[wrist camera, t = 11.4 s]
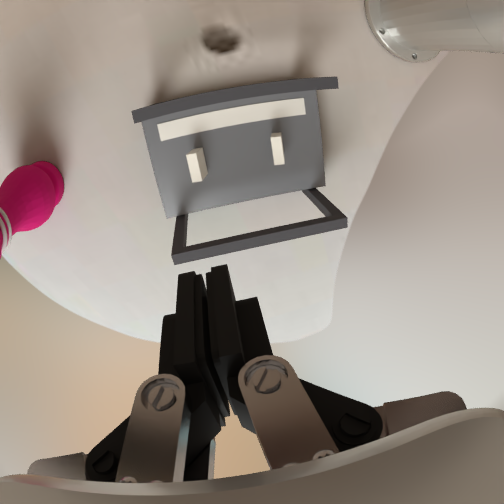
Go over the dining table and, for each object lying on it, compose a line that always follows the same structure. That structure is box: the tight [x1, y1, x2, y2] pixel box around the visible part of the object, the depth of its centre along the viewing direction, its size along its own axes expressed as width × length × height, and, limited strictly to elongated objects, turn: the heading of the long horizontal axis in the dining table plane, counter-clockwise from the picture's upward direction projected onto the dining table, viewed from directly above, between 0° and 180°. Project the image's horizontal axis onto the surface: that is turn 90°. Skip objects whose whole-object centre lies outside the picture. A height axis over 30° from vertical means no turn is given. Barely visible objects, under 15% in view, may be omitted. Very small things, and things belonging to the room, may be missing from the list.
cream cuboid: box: [270, 132, 285, 165], centre depth 30 cm, size 1×3×2 cm, turn 8°
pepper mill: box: [0, 161, 64, 258], centre depth 23 cm, size 7×7×20 cm
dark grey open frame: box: [132, 77, 347, 265], centre depth 29 cm, size 16×14×11 cm
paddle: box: [186, 148, 208, 183], centre depth 29 cm, size 1×3×2 cm, turn 8°
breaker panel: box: [141, 90, 326, 218], centre depth 32 cm, size 18×11×3 cm, turn 100°
